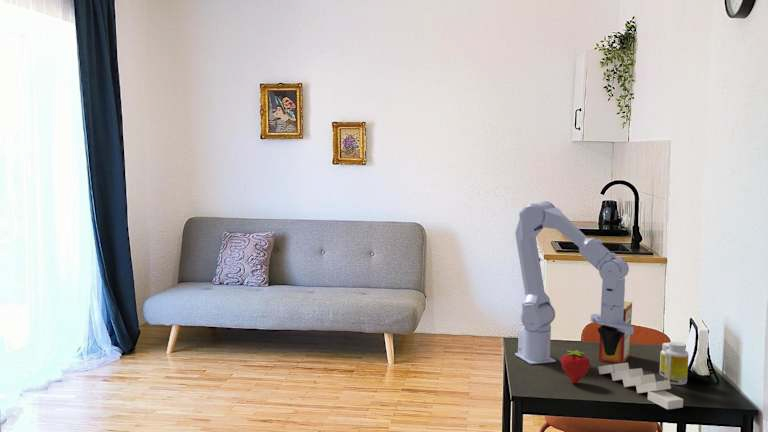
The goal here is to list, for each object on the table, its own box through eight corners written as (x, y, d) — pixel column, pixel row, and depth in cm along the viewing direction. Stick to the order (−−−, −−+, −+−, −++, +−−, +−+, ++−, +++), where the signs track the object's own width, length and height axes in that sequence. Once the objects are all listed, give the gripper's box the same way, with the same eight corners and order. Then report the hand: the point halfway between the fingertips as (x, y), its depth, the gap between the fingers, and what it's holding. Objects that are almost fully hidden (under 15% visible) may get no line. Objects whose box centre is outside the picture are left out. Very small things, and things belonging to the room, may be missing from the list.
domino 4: (648, 391, 186) (668, 401, 179) (662, 389, 187) (683, 399, 181) (647, 399, 186) (667, 409, 180) (662, 397, 188) (682, 407, 181)
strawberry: (583, 389, 192) (585, 350, 191) (555, 383, 197) (557, 344, 196) (593, 383, 197) (595, 345, 196) (565, 377, 201) (567, 339, 200)
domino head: (598, 366, 205) (613, 364, 198) (612, 365, 206) (628, 362, 200) (599, 374, 204) (615, 372, 198) (613, 372, 206) (629, 370, 200)
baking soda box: (606, 352, 224) (608, 298, 222) (629, 355, 221) (632, 301, 219) (598, 361, 216) (601, 304, 214) (622, 364, 213) (625, 307, 211)
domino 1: (611, 373, 200) (627, 369, 194) (625, 371, 201) (641, 368, 195) (612, 380, 199) (629, 377, 193) (626, 379, 201) (643, 376, 194)
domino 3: (635, 385, 190) (655, 381, 184) (649, 383, 192) (669, 380, 186) (637, 393, 190) (657, 390, 184) (651, 391, 192) (671, 388, 185)
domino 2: (622, 379, 195) (639, 375, 189) (636, 377, 197) (654, 373, 190) (624, 387, 194) (641, 384, 188) (638, 385, 196) (656, 382, 190)
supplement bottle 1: (679, 379, 201) (681, 347, 200) (660, 377, 202) (662, 346, 201) (676, 373, 206) (678, 342, 205) (658, 371, 207) (659, 341, 206)
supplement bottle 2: (691, 384, 198) (694, 345, 196) (675, 387, 195) (678, 347, 194) (674, 377, 203) (677, 339, 201) (659, 380, 200) (661, 341, 199)
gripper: (582, 299, 207) (580, 348, 209) (619, 311, 194) (616, 364, 195) (603, 297, 210) (601, 346, 211) (641, 309, 197) (638, 361, 198)
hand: (610, 354), depth 204 cm, fingers closed
